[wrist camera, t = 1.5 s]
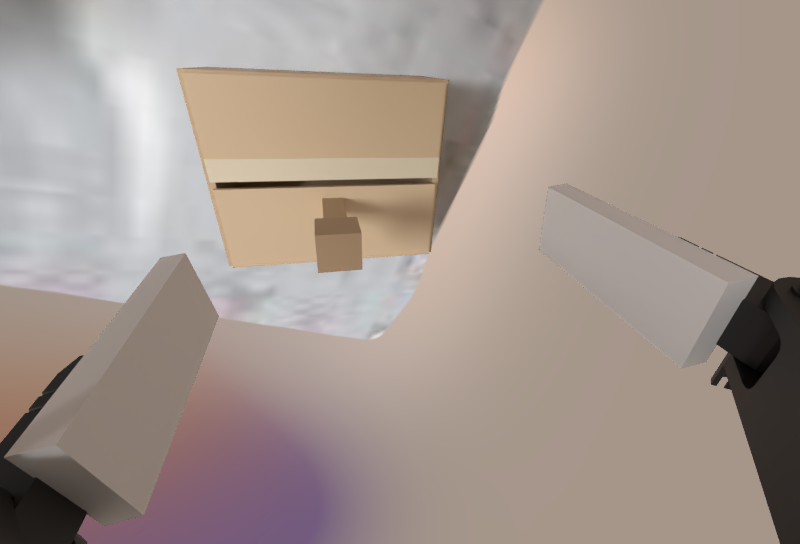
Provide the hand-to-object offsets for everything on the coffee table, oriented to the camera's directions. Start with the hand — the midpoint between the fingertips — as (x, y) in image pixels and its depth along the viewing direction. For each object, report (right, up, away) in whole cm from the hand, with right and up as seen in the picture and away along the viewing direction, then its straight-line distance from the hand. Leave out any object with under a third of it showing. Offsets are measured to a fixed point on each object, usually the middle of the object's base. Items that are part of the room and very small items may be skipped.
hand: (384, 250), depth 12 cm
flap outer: (-6, +4, +19) cm, 20 cm away
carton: (-7, +12, +23) cm, 27 cm away
